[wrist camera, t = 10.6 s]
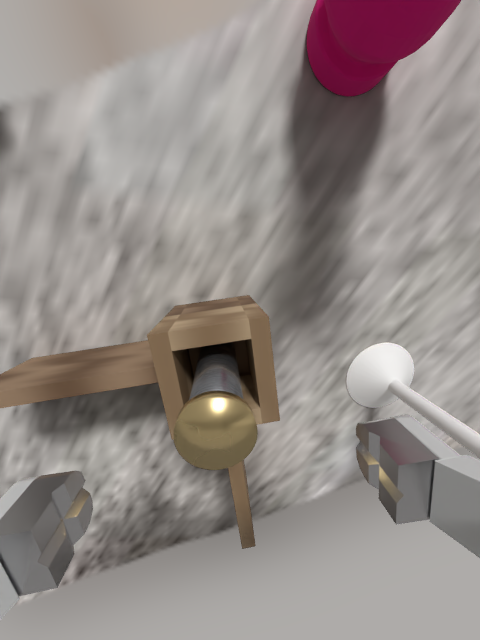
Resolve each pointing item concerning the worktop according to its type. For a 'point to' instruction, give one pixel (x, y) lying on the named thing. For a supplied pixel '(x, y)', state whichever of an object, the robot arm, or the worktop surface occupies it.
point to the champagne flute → (400, 390)
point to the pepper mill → (368, 38)
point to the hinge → (166, 371)
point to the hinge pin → (215, 413)
